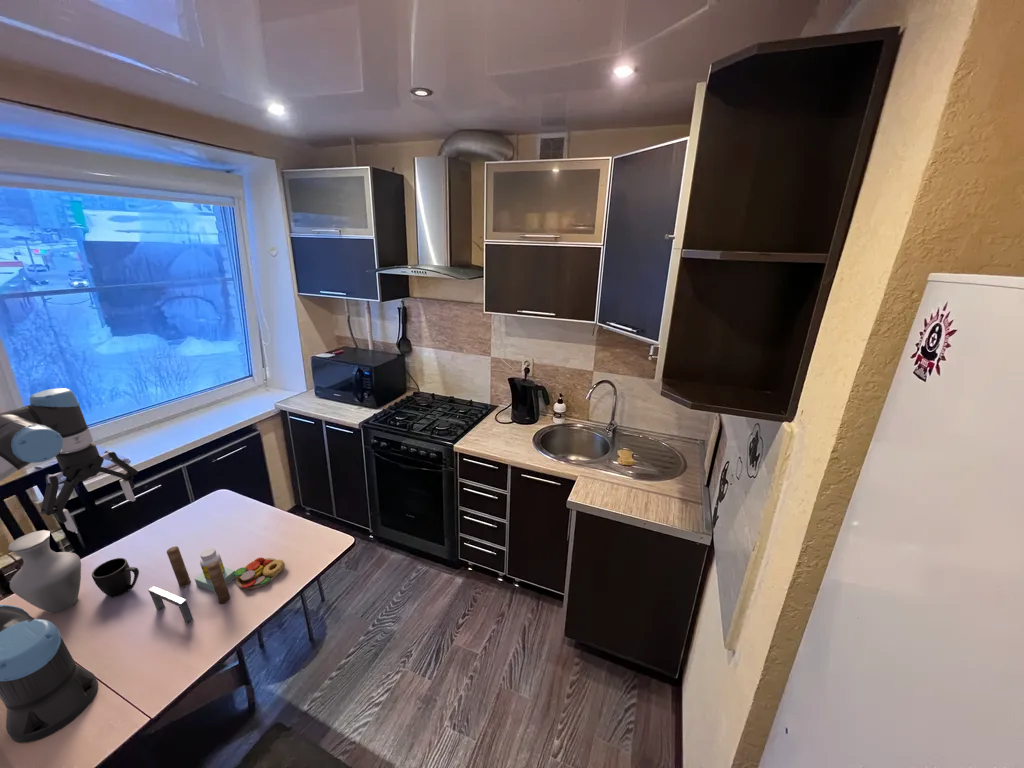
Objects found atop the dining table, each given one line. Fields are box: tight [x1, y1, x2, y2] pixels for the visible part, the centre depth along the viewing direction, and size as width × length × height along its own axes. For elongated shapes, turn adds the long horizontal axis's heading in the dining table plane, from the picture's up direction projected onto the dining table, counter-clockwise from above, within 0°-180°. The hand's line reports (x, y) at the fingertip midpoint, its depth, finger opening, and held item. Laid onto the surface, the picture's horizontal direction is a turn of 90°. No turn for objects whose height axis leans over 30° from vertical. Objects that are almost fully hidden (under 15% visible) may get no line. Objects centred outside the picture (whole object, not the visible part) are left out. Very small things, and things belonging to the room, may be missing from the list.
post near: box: [207, 562, 231, 605], centre depth 129 cm, size 3×3×14 cm
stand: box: [194, 566, 237, 593], centre depth 138 cm, size 7×9×2 cm
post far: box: [166, 546, 192, 588], centre depth 134 cm, size 3×3×14 cm
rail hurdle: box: [148, 585, 194, 625], centre depth 125 cm, size 2×14×8 cm, turn 70°
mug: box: [91, 557, 140, 599], centre depth 133 cm, size 8×12×10 cm
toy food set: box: [234, 557, 286, 590], centre depth 140 cm, size 13×13×3 cm
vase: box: [7, 529, 82, 614], centre depth 125 cm, size 14×14×25 cm
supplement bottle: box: [199, 547, 225, 581], centre depth 135 cm, size 5×5×10 cm
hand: (103, 514), depth 116 cm, fingers open, 13 cm apart
